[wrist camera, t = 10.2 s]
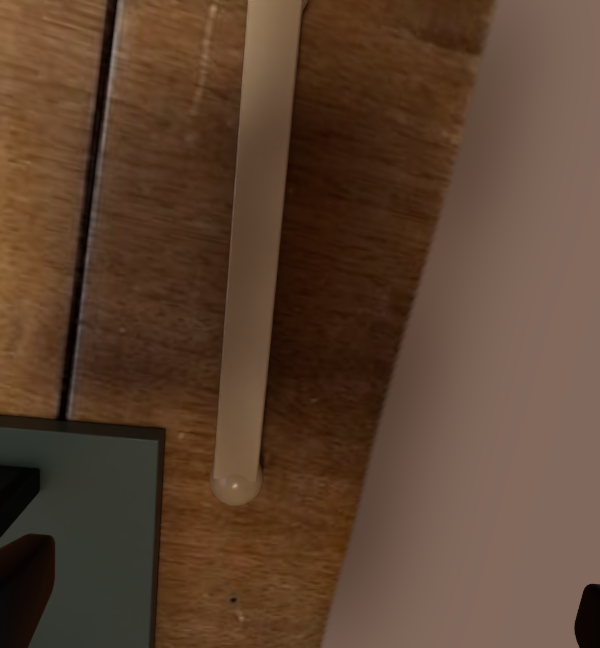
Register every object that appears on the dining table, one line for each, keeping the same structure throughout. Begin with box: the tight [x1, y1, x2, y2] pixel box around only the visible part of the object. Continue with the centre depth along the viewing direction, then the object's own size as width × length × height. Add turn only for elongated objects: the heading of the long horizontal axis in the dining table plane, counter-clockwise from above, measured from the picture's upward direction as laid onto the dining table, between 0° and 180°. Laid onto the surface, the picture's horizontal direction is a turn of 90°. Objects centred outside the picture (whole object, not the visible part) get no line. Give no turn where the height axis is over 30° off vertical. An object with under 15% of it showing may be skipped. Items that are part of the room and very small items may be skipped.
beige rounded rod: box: [209, 0, 308, 506], centre depth 18 cm, size 2×19×2 cm, turn 174°
